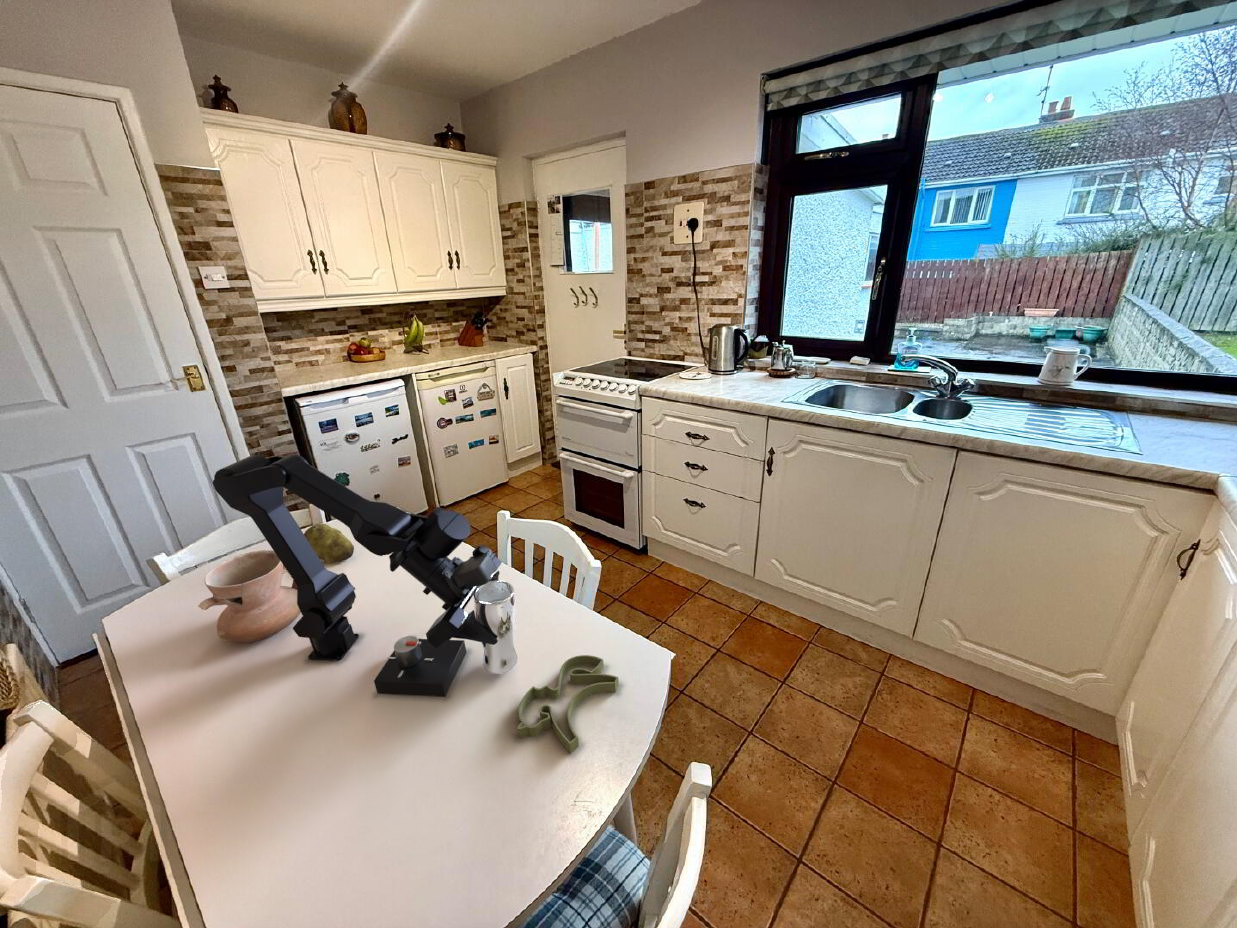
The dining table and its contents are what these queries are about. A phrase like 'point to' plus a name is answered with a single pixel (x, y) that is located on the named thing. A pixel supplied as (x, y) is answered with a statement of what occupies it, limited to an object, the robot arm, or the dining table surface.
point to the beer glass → (497, 624)
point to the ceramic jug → (251, 597)
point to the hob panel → (423, 671)
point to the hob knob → (407, 651)
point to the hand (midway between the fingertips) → (504, 628)
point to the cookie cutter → (576, 677)
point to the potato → (329, 543)
